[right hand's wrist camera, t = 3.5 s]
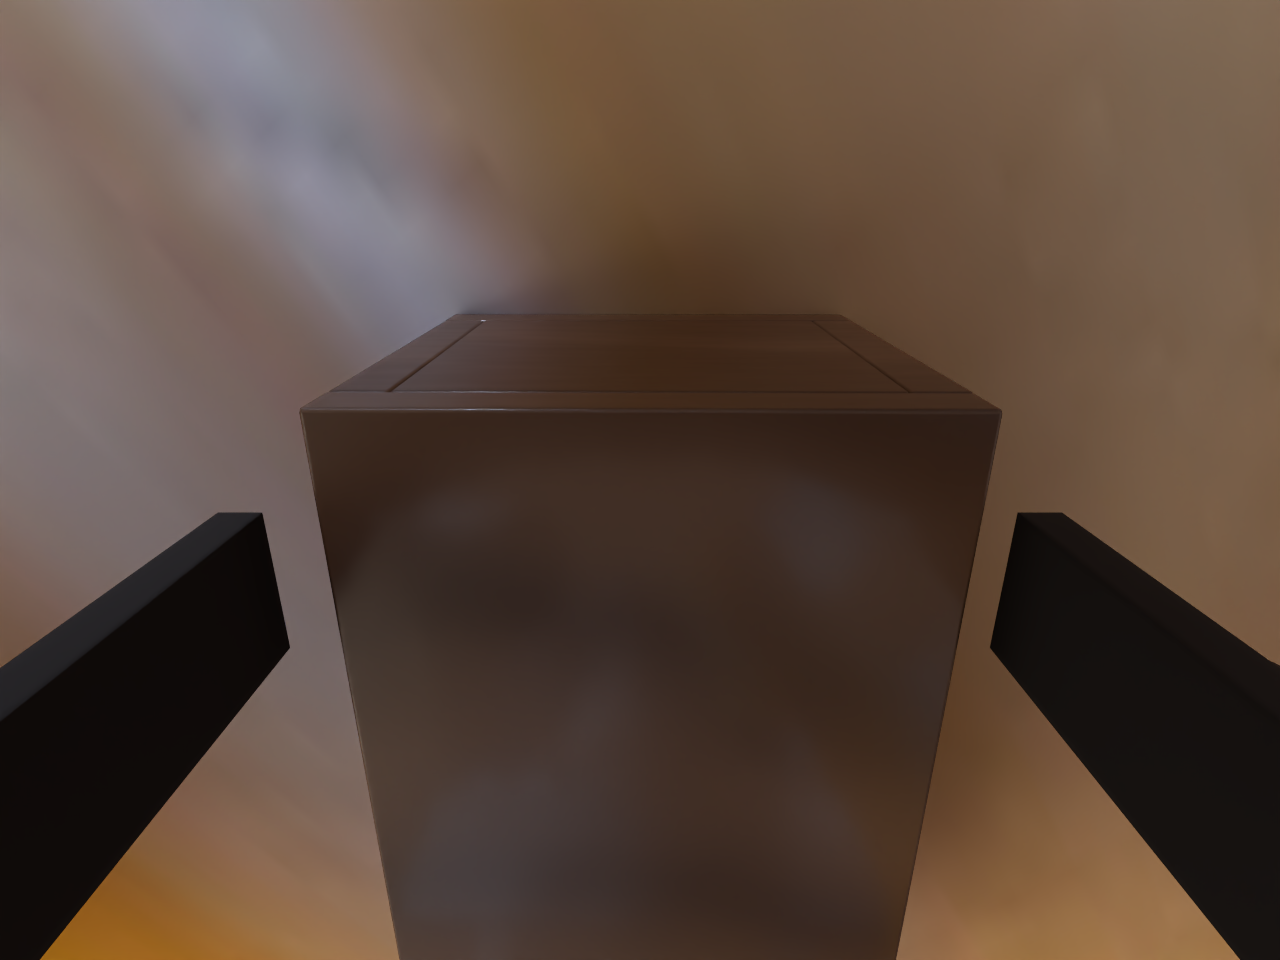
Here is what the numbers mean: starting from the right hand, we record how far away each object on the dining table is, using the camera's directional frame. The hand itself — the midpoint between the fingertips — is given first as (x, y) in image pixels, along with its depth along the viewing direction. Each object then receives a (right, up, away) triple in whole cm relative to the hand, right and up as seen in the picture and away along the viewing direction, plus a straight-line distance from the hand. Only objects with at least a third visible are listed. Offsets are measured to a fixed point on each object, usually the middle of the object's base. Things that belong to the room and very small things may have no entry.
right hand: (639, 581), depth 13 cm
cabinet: (0, -3, +10) cm, 10 cm away
